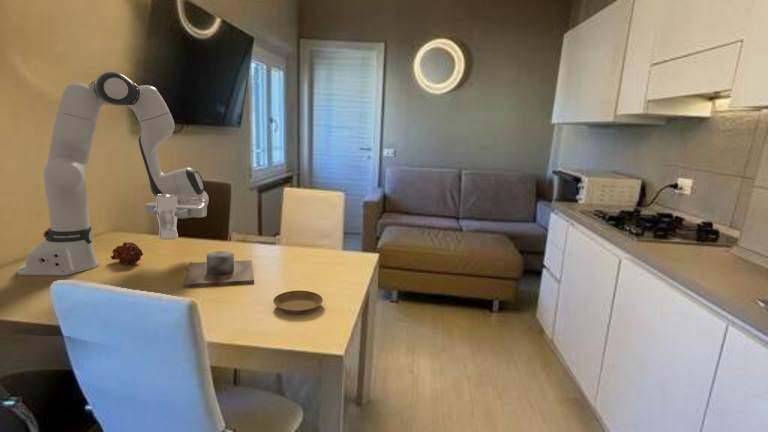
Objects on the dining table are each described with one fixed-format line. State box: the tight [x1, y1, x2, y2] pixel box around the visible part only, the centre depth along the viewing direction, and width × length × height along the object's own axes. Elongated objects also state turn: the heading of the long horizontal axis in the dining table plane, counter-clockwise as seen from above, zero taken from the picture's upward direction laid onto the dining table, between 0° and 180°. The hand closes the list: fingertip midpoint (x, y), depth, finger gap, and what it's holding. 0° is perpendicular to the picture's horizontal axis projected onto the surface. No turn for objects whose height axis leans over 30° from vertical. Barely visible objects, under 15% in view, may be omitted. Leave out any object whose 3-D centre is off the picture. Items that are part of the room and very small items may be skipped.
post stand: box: [183, 250, 255, 288], centre depth 154 cm, size 22×22×7 cm
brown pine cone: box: [110, 241, 144, 265], centre depth 160 cm, size 8×8×12 cm
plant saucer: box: [272, 290, 324, 316], centre depth 131 cm, size 15×15×3 cm
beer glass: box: [155, 194, 179, 240], centre depth 150 cm, size 7×7×15 cm
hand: (165, 213), depth 149 cm, fingers closed on beer glass, 6 cm apart
